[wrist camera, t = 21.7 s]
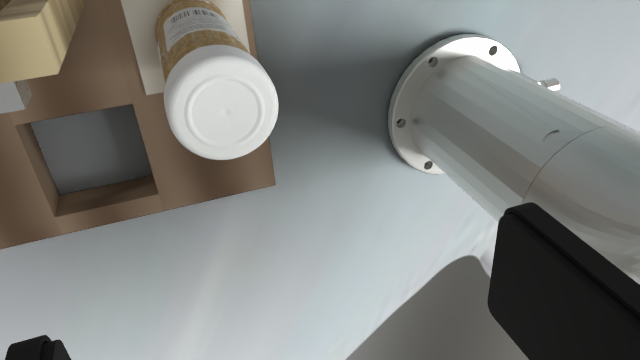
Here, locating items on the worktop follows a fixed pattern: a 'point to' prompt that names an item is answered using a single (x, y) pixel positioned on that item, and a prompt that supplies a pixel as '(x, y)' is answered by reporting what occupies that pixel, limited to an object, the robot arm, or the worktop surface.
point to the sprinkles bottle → (212, 83)
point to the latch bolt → (14, 96)
